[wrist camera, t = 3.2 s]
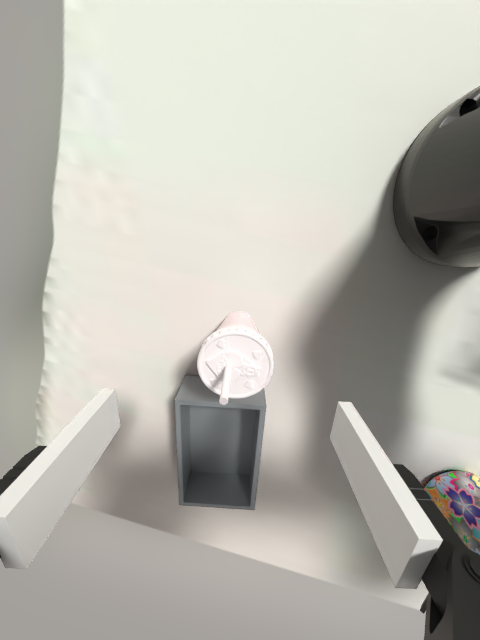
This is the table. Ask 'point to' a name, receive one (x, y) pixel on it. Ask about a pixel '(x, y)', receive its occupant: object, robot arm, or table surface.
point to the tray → (218, 446)
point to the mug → (459, 504)
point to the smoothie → (235, 359)
